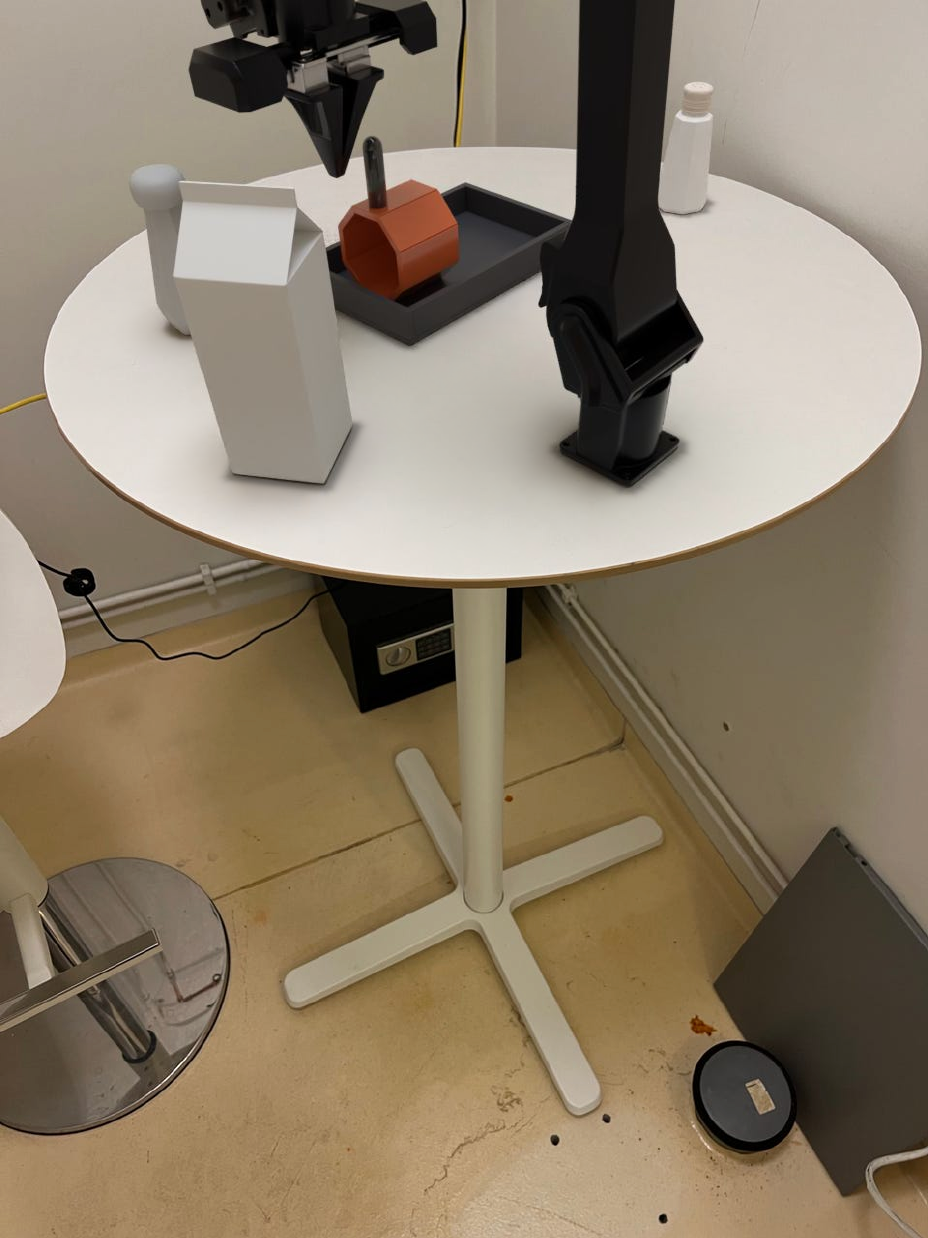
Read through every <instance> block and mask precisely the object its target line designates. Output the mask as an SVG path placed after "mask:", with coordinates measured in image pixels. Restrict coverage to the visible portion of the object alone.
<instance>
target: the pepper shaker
mask: <svg viewBox="0 0 928 1238" xmlns="http://www.w3.org/2000/svg"><path fill="white" fill-rule="evenodd" d="M682 90H683V97H682V101H681V104H682V106H681V109H680V110H679V111H678V112H677V113H676V114H675V116H674V118H673V122H672V125H671V130H670V134H669V139H668V142H667V147H666V150H665V155H664V159H663V163H662V166H661V171H660V182H659V194H658V205H659V209H660V210H662V211H663V212H666V213H671V214H678V215H687V214H691V213H692V214H693V213H697V212H700V211H702V209H703V207H704V206H705V204H706V203H707V197H708V184H709V172H710V163H711V160H710V159H711V148H712V137H713V127H714V115H713V114H712V113H711V112H709V111H710V105H711V100H712V95H713V93H714V87H713V85H711V84H710V83H708V82H705V81H692V82H688V83H686V84H685V85H684V86H683V89H682Z"/></svg>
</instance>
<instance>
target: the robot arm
mask: <svg viewBox="0 0 928 1238" xmlns="http://www.w3.org/2000/svg"><path fill="white" fill-rule="evenodd" d="M200 4H201V7H202V10H203V12H204V16H205V18H206V21H207V23H208V25H209V26H210V27H211V28H212V29H214V30H218V29H220V28H225V27H227V26H229V27H230V30H231V33H232V36H233V37H230V38H226V39H223V40H219V41H215V42H213V43H209V44H205V45H202V46H199V47H195V48H193V50H192V54H191V56H190V60H189V64H188V74H189V79H190V82H191V87H192V90H193V95H194V97H195V98H197V99H201V100H203V101H206V102H208V103H210V104H211V103H212V104H213V105H214V104H215V105H217V106H220V107H223V108H225V109H227V110H231V111H233V112H236V113H239V114H243V113H253V112H256V111H259V110H261V109H265V108H266V107H270V106H273V105H277V104H279V103H282V102H283V99H284V98H285V99H286V100H287V101H288V102H289V104H290V105H291V106H292V108H293V109H294V111H295V112H296V114H297V115H298V117H299V119H300V121H301V122H302V124H303V126H304V127H305V129H306V131H307V133H308V135H309V137H310V139H311V142H312V144H313V145H314V148H315V150H316V152H317V154H318V156H319V157H320V160H321V162H322V164H323V166H324V168H325V170H326V172H327V174H328V175H329V176H330V177H332V178H335V179H339V178H341V177H344V176H346V173H347V170H348V166H349V163H350V159H351V156H352V153H353V150H354V146H355V143H356V140H357V137H358V133H359V130H360V127H361V124H362V121H363V119H364V116H365V113H366V111H367V108H368V106H369V103H370V101H371V99H372V96H373V93H374V91H375V88H376V85H377V83H378V82H379V81H381V80H384V78H385V70H384V69H383V68H381V67H377V66H374V65H372V59H371V54H370V50H369V49H371V48H374V47H377V46H380V45H383V44H386V43H389V42H392V41H396V40H399V45H400V46H401V48H402V49H403V50H404V51H405V52H406V53H407V55H410V56H416V55H418V54H422V53H424V52H428V51H430V50H433V49H436V48H438V25H437V17H436V15H435V13H434V12H433V11H434V10H433V9H432V8H431V6H430V5H429V2H428V1H427V0H200ZM675 5H676V0H578V36H577V37H578V42H577V47H578V48H577V51H578V52H577V91H576V92H577V94H576V153H575V154H576V155H575V156H576V157H575V158H576V159H575V205H574V212H573V217H572V219H571V220H572V221H571V223H570V226H569V228H568V229H567V230H565V231H563V232H561V233H559V234H557V235H556V236H554V237H552V238H550V239H548V240H547V241H545V242H543V243H542V246H541V252H540V266H541V271H540V273H541V282H542V284H541V294H540V297H539V299H538V302H537V305H538V307H539V308H540V309H542V308H545V318H546V325H547V329H548V332H549V336H550V337H551V338H552V342H553V346H554V351H555V354H556V359H557V363H558V368H559V372H560V376H561V377H560V378H561V382H562V384H563V388H564V389H565V390H566V391H568V392H570V393H572V394H574V395H577V396H576V397H577V398H578V399H579V414H578V426H577V429H576V430H575V431H573V432H572V433H571V434H569V435H568V436H567V437H565V438H564V439H562V440H561V441H560V442H559V445H558V450H559V451H560V452H561V453H562V454H564V455H566V456H568V457H569V458H572V459H574V460H576V461H577V462H579V463H582V464H583V465H585V466H587V467H589V468H590V469H593V470H594V471H597V472H599V473H601V474H603V475H604V476H607V477H608V478H610V479H612V480H614V481H616V482H618V483H620V484H621V485H624V486H631V485H633V484H634V483H636V482H637V481H638V480H639V479H641V478H642V477H643V476H645V475H646V473H648V472H649V471H651V470H652V469H653V468H654V467H655V466H657V465H658V464H659V463H660V462H662V461H663V460H664V459H665V458H666V457H668V456H669V455H670V454H672V452H674V451H675V450H676V449H677V448H678V447H679V444H680V439H679V437H677V436H675V435H673V434H671V433H669V432H667V431H666V430H663V427H664V425H665V420H666V419H665V418H666V413H667V408H668V403H669V397H670V391H671V387H672V386H671V385H672V378H673V373H674V372H676V371H677V370H678V369H680V368H682V366H684V365H686V364H689V363H690V362H691V361H692V360H693V359H694V357H695V356H696V354H697V353H698V351H699V350H700V348H701V347H702V345H703V343H704V341H705V339H704V336H703V334H702V332H701V330H700V329H699V327H698V325H697V323H696V321H695V319H694V317H693V315H692V313H691V312H690V310H689V308H688V307H687V305H686V303H685V301H684V299H683V298H682V296H681V294H680V292H679V290H678V286H677V285H678V283H677V282H678V281H677V263H676V261H677V260H676V245H675V242H674V239H673V237H672V235H671V233H670V231H669V229H668V226H667V224H666V222H665V220H664V217H663V215H662V213H661V209H660V208H659V205H658V194H659V182H660V176H661V171H662V156H663V146H664V133H665V123H666V122H665V121H666V110H667V98H668V86H669V76H670V75H669V74H670V64H671V53H672V42H673V41H672V40H673V28H674V27H673V26H674V17H675V7H676V6H675ZM255 33H256V34H257V36H258V37H262V38H265V39H270V38H277V39H276V40H277V43H274V44H271V45H267V46H266V45H264V44H259V43H256V42H253V41H250V40H246V39H247V38H248V37H249V35H251V34H255ZM302 52H305V53H302Z"/></svg>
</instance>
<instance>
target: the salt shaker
mask: <svg viewBox="0 0 928 1238" xmlns="http://www.w3.org/2000/svg"><path fill="white" fill-rule="evenodd" d="M179 181H186V179H185V176H184V174H183V172H181V170H180V169H179V168H177V167H176V166H174V165H171V164H168V163H167V164H166V163H156V164H148V165H145V166H142V167H139V168H137V169H136V170H134V171H133V172H132V174H131V176H130V178H129V180H128V185H129V192H130V194H131V196H132V197H131V198H132V200H133V201H134V202H135V203H136V205H137V206H138V207H139V208H142V209H143V214H144V222H145V228H146V235H147V242H148V250H149V257H150V264H151V265H150V266H151V273H152V279H153V287H154V294H155V301H156V305H157V307H158V309H159V311H160V312H161V314H162V315H163V316H164V318H166V319H167V321H168V322H169V323H170V324H171V325H172V327H173V328H174V329H176V331H178V332H180V333H181V334H182V335H184V336H191V333H190V330H189V326H188V323H187V320H186V316H185V313H184V309H183V306H182V303H181V299H180V296H179V293H178V289H177V286H176V283H175V279H174V277H173V273H174V265H175V258H176V250H177V243H178V235H179V228H180V220H181V213H182V205H183V199H182V195H181V191H180V188H179V184H178V182H179Z"/></svg>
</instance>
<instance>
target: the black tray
mask: <svg viewBox="0 0 928 1238" xmlns="http://www.w3.org/2000/svg"><path fill="white" fill-rule="evenodd" d="M440 194H441V196H442V197H443V199H444V201H445V203H446V204H447V206H448V208H449V209H450V211H451V213H452V215H453V216H454V218H455V220H456V221H457V225H458V239H459V262H458V263H457V264H456V265H455V266H454V267H453V268H452V269H451V270H450V271H449V272H448V273H447V274H446V275H444V276H443V277H442V278H441V279H439V280H437V281H435V282H433V283H431V284H429V285H428V286H426V287H424V288H422V289H420V290H418V291H416V292H414V293H413V294H411V295H409V296H407V297H405V298H403V299H401V300H400V301H398V302H394V301H392V300H390V299H388V298H386V297H384V296H382V295H380V294H377V293H375V292H373V291H371V290H369V289H367V288H365V287H363V286H361V285H358V284H356V282H355V281H354V279H353V277H352V276H351V274H350V273H349V271H348V269H347V268H346V266H345V265H344V262H343V259H342V252H341V245H340V240H339V241H336V242H335V243H332V244H330V245H327V246H325V248H326V255H327V261H328V268H329V274H330V281H331V287H332V294H333V300H334V307H335V310H338V311H340V312H342V313H344V314H346V315H348V316H350V317H352V318H354V319H356V320H358V321H360V322H362V323H364V324H366V325H368V326H370V327H372V328H374V329H376V330H378V331H380V332H382V333H384V334H386V335H387V336H390V337H392V338H394V339H396V340H398V341H400V342H402V343H403V344H405V345H407V346H412V345H414V344H415V343H417V342H419V341H420V340H423V339H424V338H426V337H428V336H429V335H431V334H433V333H434V332H437V331H438V330H440V329H442V328H443V327H445V326H447V325H449V324H450V323H452V322H454V321H455V320H457V319H459V318H461V317H462V316H465V315H466V314H468V313H470V312H471V311H473V310H475V309H477V308H478V307H480V306H482V305H483V304H486V303H487V302H489V301H490V300H492V299H494V298H495V297H497V296H499V295H501V294H502V293H504V292H506V291H508V290H509V289H511V288H513V287H514V286H517V285H518V284H520V283H522V282H523V281H526V280H527V279H529V278H530V277H532V276H534V275H536V274H537V273H539V272H541V266H540V252H541V246H542V243H543V242H545V241H547V240H548V239H550V238H552V237H554V236H556V235H557V234H559V233H561V232H563V231H565V230H567V229H568V228H569V226H570V223H571V221H572V219H569V218H567V217H564V216H561V215H558V214H555V213H553V212H550V211H547V210H545V209H542V208H539V207H536V206H533V205H530V204H528V203H525V202H522V201H519V200H516V199H514V198H511V197H508V196H506V195H502V194H500V193H497V192H494V191H491V190H489V189H486V188H483V187H480V186H478V185H474V184H472V183H469V182H466V181H464V182H462V183H460V184H458V185H456V186H454V187H452V188H450V189H447V190H445V191H443V192H440Z"/></svg>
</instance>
